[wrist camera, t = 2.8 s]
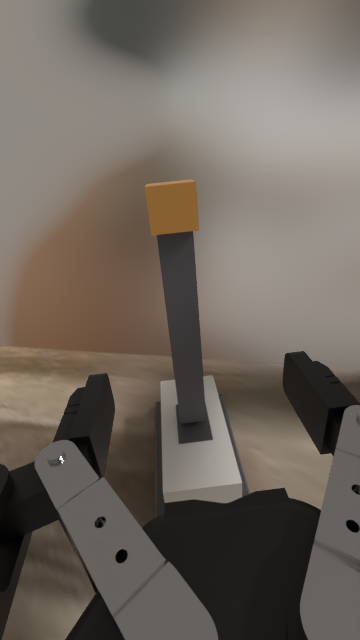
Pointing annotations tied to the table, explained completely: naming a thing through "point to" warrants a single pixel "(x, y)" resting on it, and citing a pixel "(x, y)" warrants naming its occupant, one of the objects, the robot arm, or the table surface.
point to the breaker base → (195, 452)
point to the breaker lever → (180, 287)
